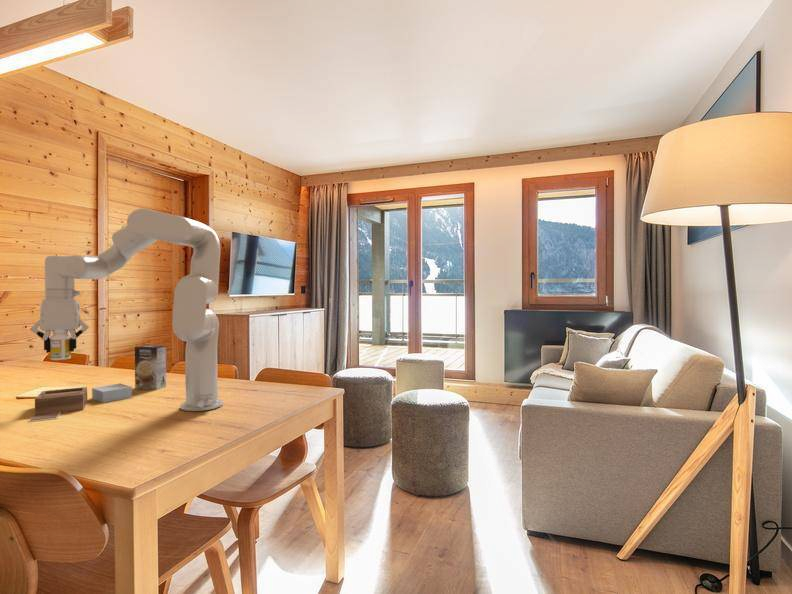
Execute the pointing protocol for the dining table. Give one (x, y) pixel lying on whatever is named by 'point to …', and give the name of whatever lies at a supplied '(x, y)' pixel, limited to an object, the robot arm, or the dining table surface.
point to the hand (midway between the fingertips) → (60, 351)
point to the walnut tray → (61, 400)
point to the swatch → (44, 416)
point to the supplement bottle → (60, 345)
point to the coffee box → (150, 367)
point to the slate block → (111, 392)
